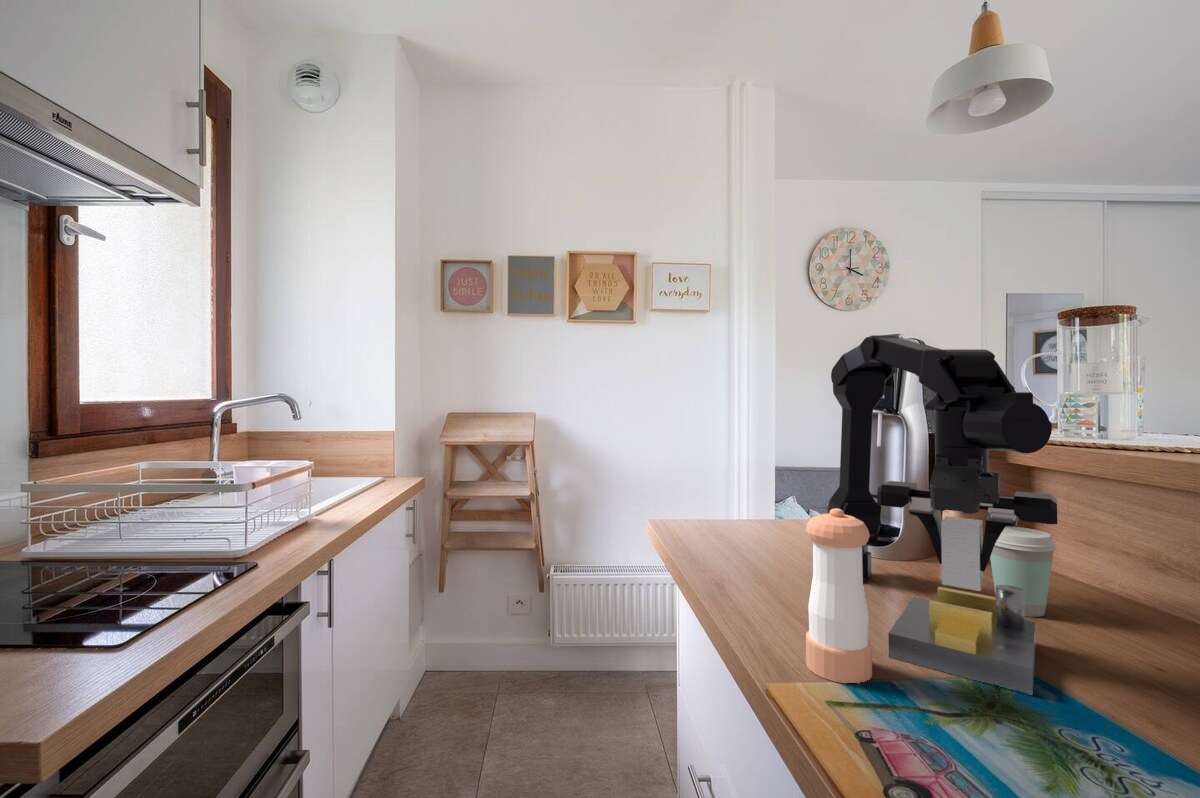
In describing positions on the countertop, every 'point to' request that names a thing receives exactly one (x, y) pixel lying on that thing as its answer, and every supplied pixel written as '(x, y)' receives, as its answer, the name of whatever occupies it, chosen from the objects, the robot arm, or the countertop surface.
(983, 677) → the gray yellow fixture base
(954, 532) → the grey rectangular block
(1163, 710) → the countertop surface
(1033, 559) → the coffee cup
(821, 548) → the salt shaker
